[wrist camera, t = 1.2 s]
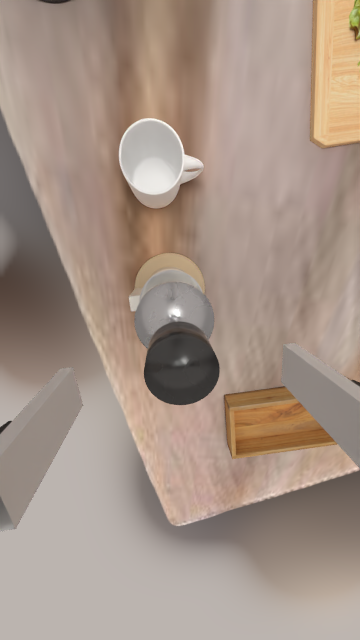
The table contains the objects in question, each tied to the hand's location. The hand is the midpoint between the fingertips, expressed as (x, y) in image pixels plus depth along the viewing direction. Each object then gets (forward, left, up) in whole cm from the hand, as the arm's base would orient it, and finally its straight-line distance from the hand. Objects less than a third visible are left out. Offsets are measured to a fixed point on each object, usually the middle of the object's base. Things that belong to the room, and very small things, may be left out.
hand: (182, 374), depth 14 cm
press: (0, 0, -32) cm, 32 cm away
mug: (-19, +1, -33) cm, 38 cm away
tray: (+34, +26, -33) cm, 54 cm away
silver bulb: (0, 0, -11) cm, 11 cm away
